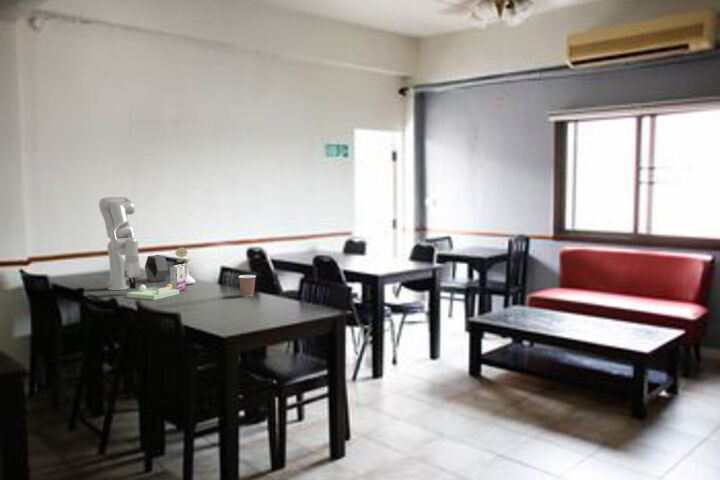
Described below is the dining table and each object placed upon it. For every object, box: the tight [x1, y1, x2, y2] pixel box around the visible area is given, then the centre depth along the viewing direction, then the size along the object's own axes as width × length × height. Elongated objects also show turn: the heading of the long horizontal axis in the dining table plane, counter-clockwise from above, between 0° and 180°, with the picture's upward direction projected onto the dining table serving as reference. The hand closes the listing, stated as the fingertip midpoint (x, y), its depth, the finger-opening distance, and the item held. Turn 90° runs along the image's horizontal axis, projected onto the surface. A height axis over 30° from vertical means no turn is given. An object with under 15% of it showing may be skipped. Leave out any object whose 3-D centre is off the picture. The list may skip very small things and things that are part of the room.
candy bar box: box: [169, 264, 187, 293], centre depth 389 cm, size 11×5×16 cm, turn 168°
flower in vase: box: [174, 247, 196, 285], centre depth 416 cm, size 13×11×25 cm
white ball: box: [138, 284, 147, 291], centre depth 375 cm, size 4×4×4 cm
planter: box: [144, 255, 169, 283], centre depth 431 cm, size 17×8×21 cm
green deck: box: [126, 286, 180, 301], centre depth 375 cm, size 21×22×6 cm
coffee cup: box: [238, 274, 257, 298], centre depth 374 cm, size 10×10×12 cm
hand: (132, 288), depth 379 cm, fingers closed
